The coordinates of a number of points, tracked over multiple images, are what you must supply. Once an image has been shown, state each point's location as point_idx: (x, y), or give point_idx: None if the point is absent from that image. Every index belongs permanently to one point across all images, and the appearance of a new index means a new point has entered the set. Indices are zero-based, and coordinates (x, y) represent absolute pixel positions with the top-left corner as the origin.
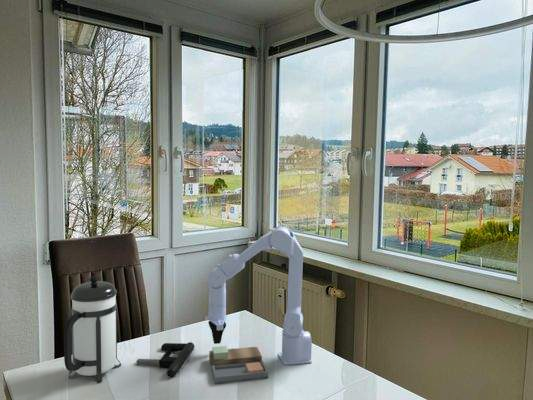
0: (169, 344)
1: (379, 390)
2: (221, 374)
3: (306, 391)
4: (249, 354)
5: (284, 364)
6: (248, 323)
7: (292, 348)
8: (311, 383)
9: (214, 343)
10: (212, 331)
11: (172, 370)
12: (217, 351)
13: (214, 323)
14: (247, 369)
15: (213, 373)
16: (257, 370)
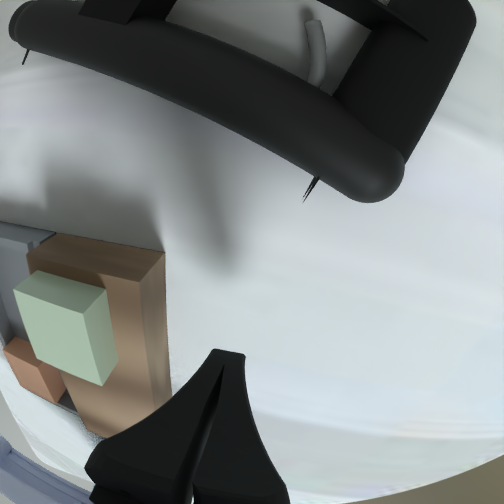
0: (432, 13)
1: (42, 455)
2: (15, 261)
3: (9, 394)
4: (94, 413)
5: (101, 439)
6: (453, 458)
7: (94, 484)
8: (35, 419)
9: (211, 351)
10: (140, 423)
11: (11, 28)
12: (33, 316)
13: (9, 482)
14: (19, 352)
15: (2, 230)
16: (14, 370)
